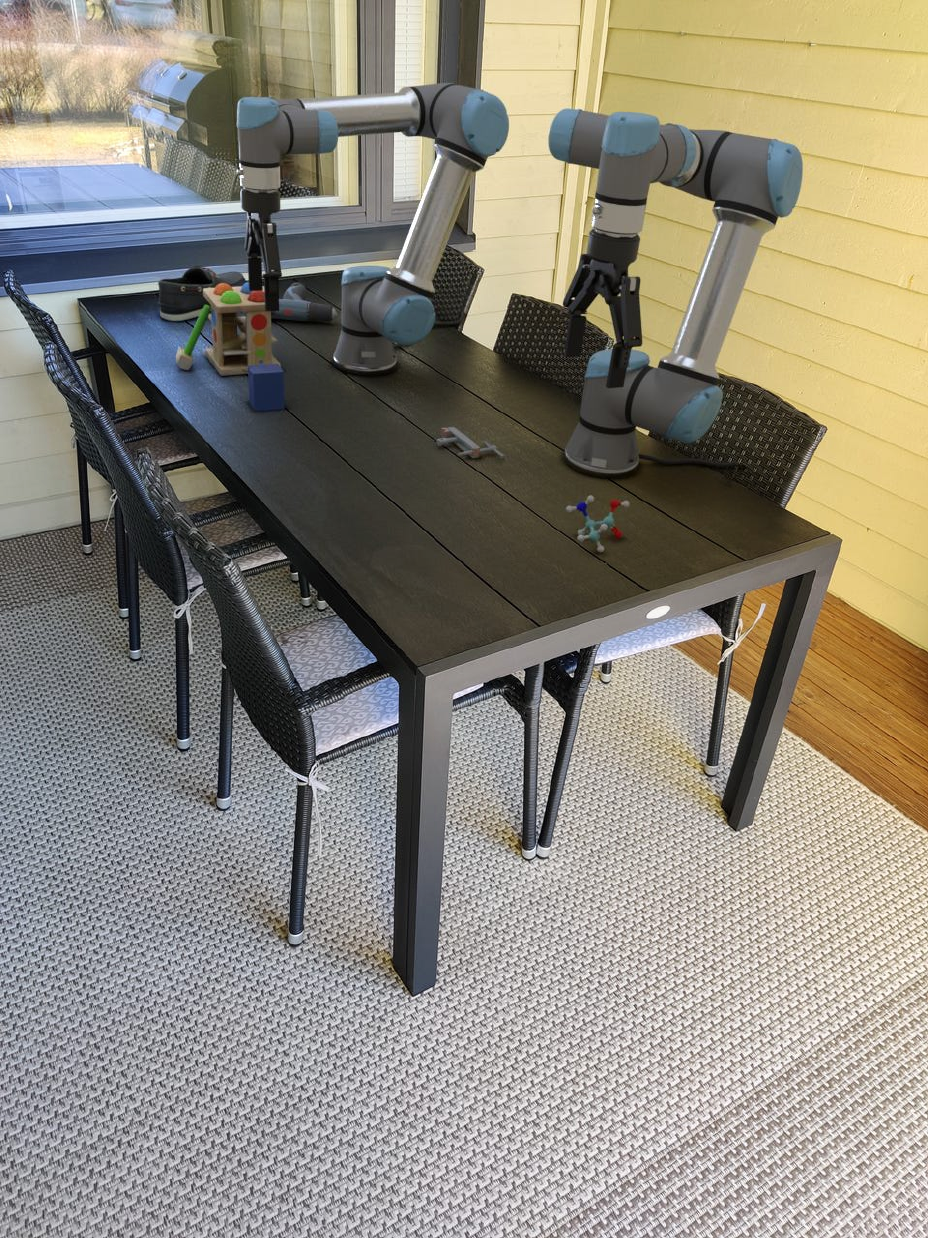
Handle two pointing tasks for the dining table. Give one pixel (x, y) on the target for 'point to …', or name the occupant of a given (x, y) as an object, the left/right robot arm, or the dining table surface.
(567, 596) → the dining table surface
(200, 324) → the pounding bench toy
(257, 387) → the block
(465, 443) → the clamp
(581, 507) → the molecular model
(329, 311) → the power drill
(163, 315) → the boat shoe
